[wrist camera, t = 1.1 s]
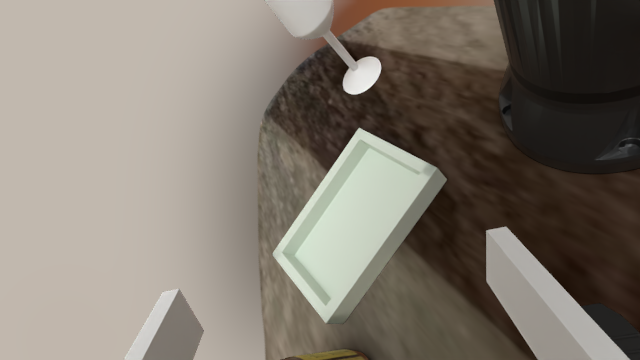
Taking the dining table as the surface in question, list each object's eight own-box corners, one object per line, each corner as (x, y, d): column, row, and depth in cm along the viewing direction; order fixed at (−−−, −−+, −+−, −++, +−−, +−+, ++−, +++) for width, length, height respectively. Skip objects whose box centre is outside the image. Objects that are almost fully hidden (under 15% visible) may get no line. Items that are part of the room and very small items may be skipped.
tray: (371, 139, 43) (359, 127, 40) (447, 179, 35) (437, 167, 32) (289, 258, 44) (272, 254, 41) (343, 323, 36) (326, 323, 33)
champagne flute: (379, 49, 48) (268, -113, 30) (383, 83, 45) (262, -74, 28) (342, 68, 52) (223, -67, 34) (343, 101, 49) (214, -28, 31)
